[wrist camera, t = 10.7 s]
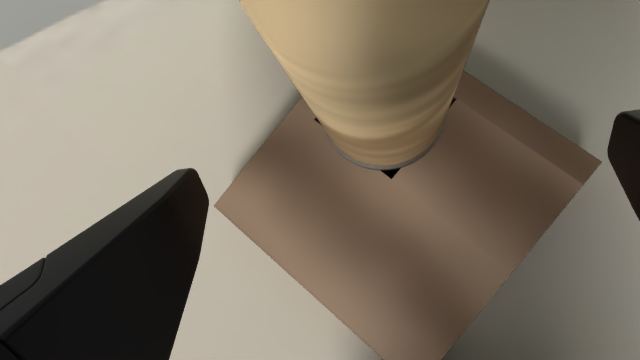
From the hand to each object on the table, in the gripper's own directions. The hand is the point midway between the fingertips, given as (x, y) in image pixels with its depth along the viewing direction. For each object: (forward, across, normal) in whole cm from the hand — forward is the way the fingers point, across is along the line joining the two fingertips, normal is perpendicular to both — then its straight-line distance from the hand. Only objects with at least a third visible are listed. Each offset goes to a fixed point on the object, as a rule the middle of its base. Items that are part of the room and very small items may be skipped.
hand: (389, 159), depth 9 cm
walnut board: (+8, 0, +8) cm, 11 cm away
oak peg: (+11, 0, +5) cm, 12 cm away
